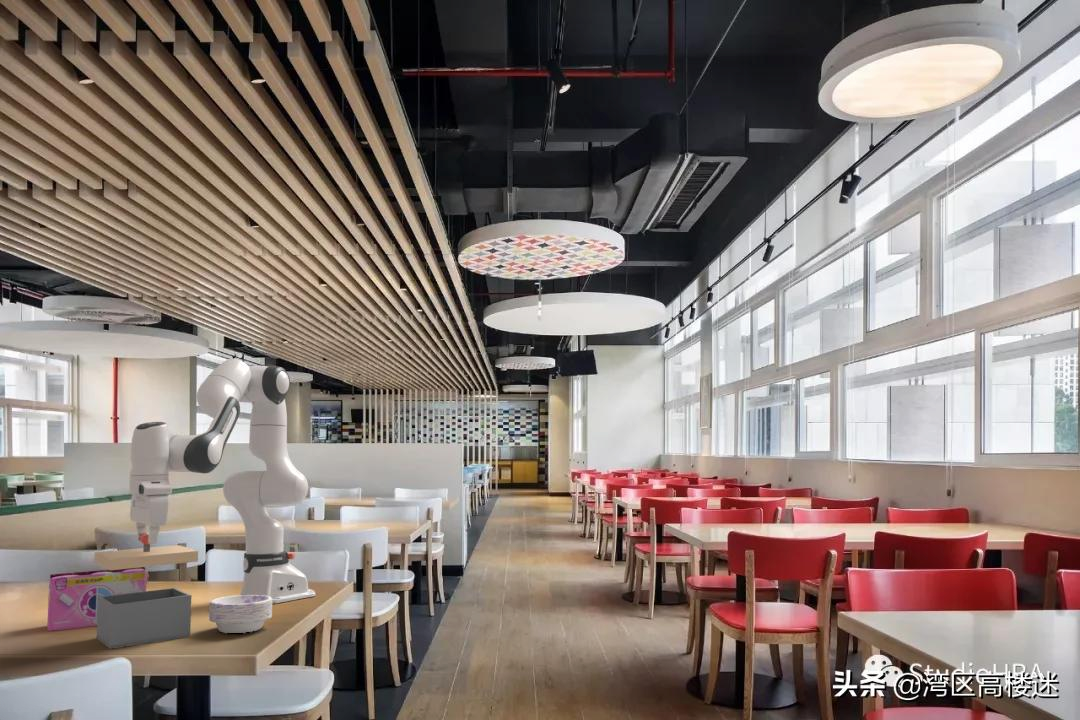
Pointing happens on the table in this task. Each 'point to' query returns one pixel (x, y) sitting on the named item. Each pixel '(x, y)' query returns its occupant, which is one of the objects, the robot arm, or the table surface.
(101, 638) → the carton
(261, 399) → the robot arm
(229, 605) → the paper bowls
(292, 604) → the table surface
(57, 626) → the gum box
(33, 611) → the table surface
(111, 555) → the lid
